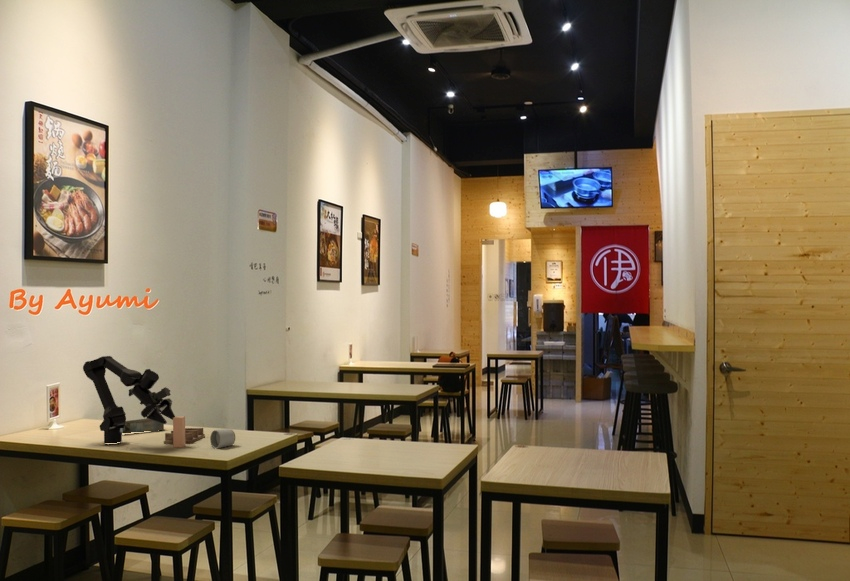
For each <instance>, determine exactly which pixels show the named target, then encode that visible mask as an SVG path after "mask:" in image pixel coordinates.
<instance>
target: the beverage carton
mask: <svg viewBox="0 0 850 581" xmlns="http://www.w3.org/2000/svg"><path fill="white" fill-rule="evenodd" d="M164 426H165V424H163V423H160V422H157V421H155V420H151V419H147V417H145V418H140V419H133V420H132V419H131V420H126V421H125V425H124V428H120V432H122V433H131V432H144V431H157V432H159V431H158V430H163V431H164V430H165V427H164Z"/></svg>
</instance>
